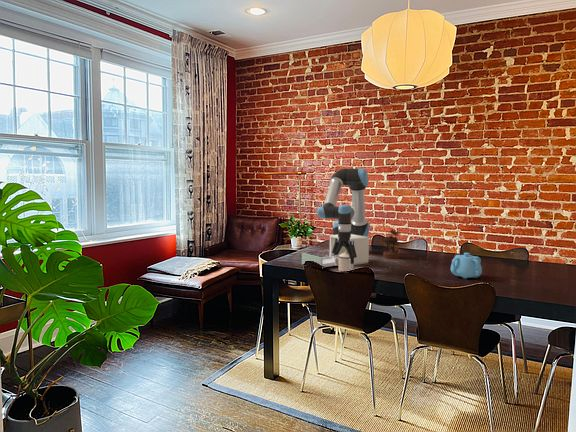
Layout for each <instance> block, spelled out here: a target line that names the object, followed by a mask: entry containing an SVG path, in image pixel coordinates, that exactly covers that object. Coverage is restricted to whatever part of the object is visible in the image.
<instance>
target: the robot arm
mask: <svg viewBox="0 0 576 432" xmlns="http://www.w3.org/2000/svg"><path fill="white" fill-rule="evenodd" d="M328 185H329V186H328V189H327V192H326V196H325V199H324V203H323V205H321V206H318V208H317V217H318V218H319V219H323V220H324V219H325V220H327V219H328V220H329V219H330V220H331V219H332V220H335V221H333V223H332V235H338V237H339V238H335V244H334V247H333V250H332V253H334V255H335V258H337V257H338V256H339V255H338V254H339V252H340V250H341V248H342V247H345V248H346V249H347V252H348V254H349V256H350V258H349V269H353V270H354V265H353V264H354V258H356V257H357V255H356V251H355V247H354V241H350V238H351V234H353V235H359V236H365V237H369V233H370V227H371V224H370V222H368V219H367V218H366V206H365V205H366V204H365V203H366V201H365V190H366V189H367V186H369V174H368V171H367V169H366V168H360V167H359V168H346V167H345V168H341V169H340V168H339V169H338V170H337V171H335V172H334V173H333V174H332V175H331V176H330V179H329V181H328ZM344 186H347V187H348V188H349V190H350V191H351V202H352V203H351V204H352V206H351V205H350V204H339V205H338V206H336V205H337V202H338V198H339V195H340V191H341V189H342V188H343V187H344ZM354 255H355V256H354ZM336 261H337V263H338V264H339V259H337V260H336ZM335 266H336V267H337V266H338V265H336V263H335ZM335 266H334V267H335Z"/></svg>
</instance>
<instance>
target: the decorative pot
mask: <svg viewBox="0 0 576 432" xmlns="http://www.w3.org/2000/svg"><path fill="white" fill-rule="evenodd" d="M481 259H482V258H481V257H479V256H474V255H472V254H470V252H463V254H455V256H454V257H453V259H452V260H451V264H450V271H451V272H450V273H452V274H453V275H454V276H455V277H461V278H462V279H463V280H466V279H468V278H470V279H471V278H472V279H477V278H478V277H480V276H481V275H482V273H483V269H482V265H481V263H482V260H481Z"/></svg>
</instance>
